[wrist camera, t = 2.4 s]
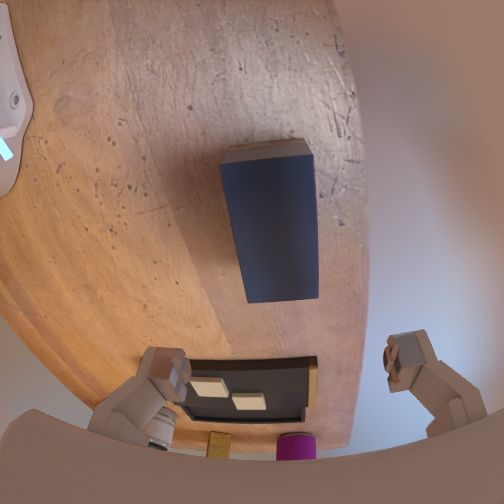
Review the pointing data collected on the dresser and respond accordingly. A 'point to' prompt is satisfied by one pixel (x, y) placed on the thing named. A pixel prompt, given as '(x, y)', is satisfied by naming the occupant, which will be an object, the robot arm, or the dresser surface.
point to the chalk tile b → (249, 401)
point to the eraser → (274, 218)
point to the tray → (246, 415)
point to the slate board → (258, 382)
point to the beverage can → (296, 447)
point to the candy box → (218, 445)
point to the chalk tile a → (209, 386)
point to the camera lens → (160, 429)
